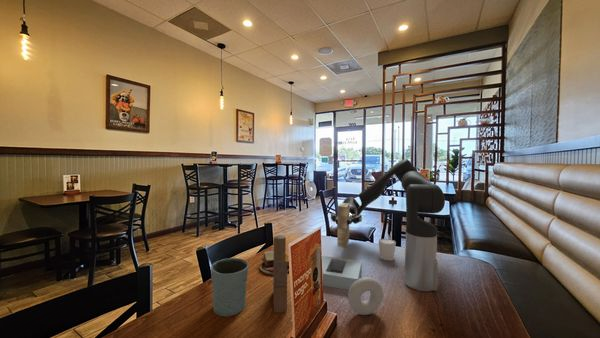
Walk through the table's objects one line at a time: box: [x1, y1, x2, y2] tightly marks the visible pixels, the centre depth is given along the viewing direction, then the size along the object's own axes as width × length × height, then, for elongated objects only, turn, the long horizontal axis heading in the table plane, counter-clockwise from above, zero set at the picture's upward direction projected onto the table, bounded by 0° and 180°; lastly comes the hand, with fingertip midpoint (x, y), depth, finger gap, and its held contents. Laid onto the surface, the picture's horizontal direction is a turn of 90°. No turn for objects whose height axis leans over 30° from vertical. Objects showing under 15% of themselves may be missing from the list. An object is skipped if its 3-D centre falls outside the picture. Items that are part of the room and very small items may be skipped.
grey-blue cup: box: [210, 257, 249, 317], centre depth 70 cm, size 10×10×12 cm
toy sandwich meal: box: [258, 249, 290, 276], centre depth 95 cm, size 12×14×5 cm
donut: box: [347, 276, 384, 316], centre depth 67 cm, size 10×3×10 cm, turn 104°
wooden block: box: [272, 234, 288, 313], centre depth 73 cm, size 4×11×18 cm, turn 7°
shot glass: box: [378, 238, 397, 261], centre depth 105 cm, size 7×7×7 cm
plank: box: [336, 202, 350, 248], centre depth 102 cm, size 4×8×16 cm, turn 162°
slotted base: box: [321, 255, 363, 291], centre depth 88 cm, size 16×14×4 cm
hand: (342, 222), depth 100 cm, fingers closed on plank, 3 cm apart
